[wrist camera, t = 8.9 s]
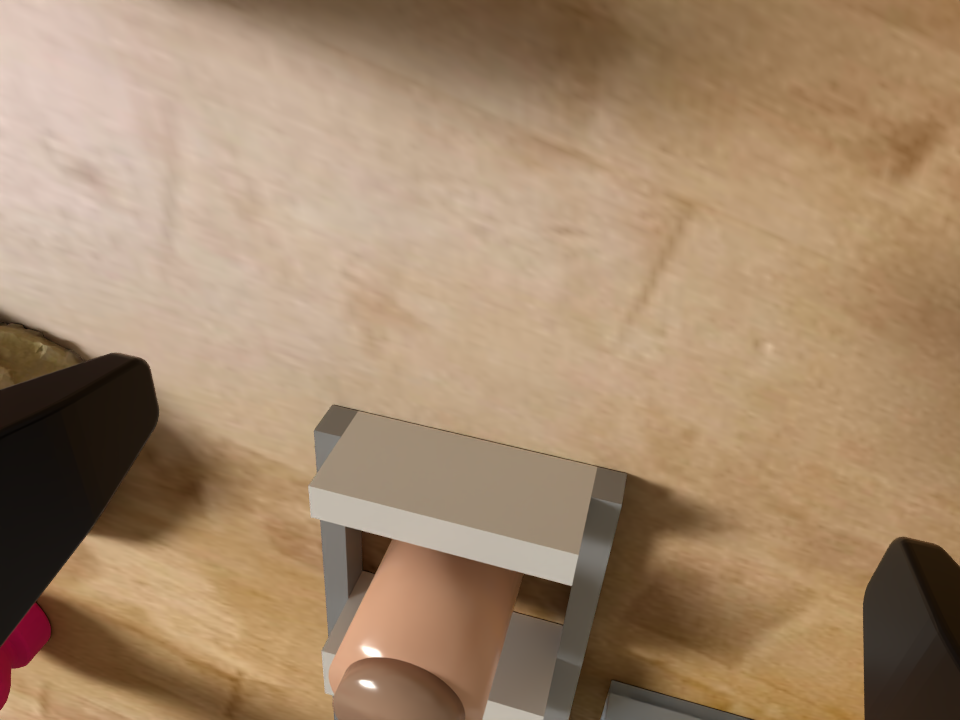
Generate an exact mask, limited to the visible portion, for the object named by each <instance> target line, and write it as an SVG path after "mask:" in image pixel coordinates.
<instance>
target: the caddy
mask: <svg viewBox="0 0 960 720" xmlns="http://www.w3.org/2000/svg"><path fill="white" fill-rule="evenodd" d="M314 437H315V452H316V466H317V474H316V475H315V477H314V478H313V480H312V481H311V483H310V484H309V486H308V487H309V500H310V512H311V517H312V518H316V519H320V523H321V537H322V551H323V565H324V580H325V594H326V608H327V622H328V636H329V637H328V639H327V641H326V643H325V645H324V647H323V649H322V662H323V674H324V687H325V693H327V694H330V695H333V697H334V693H333V691H332V688H331V686H330V683H329V668H330V665H331V663H332V661H333V659H334V657H335V655H336V653H337V651H338V649H339V647H340V645H341V643H342V641H343V638H344V636H345V634H346V632H347V630H348V628H349V626H350V624H351V622H352V620H353V618H354V616H355V614H356V612H357V610H358V608H359V606H360V604H361V602H362V600H363V598H364V596H365V594H366V592H367V590H368V588H369V586H370V583H371V581H372V579H373V577H374V575H375V574H373V573H369V572H366V571H363V565H362V531H365V532H369V533H373V534H376V535H380V536H384V537H388V538H392V539H395V540H399V541H403V542H407V543H411V544H414V545H418V546H422V547H426V548H430V549H433V550H437V551H441V552H445V553H449V554H452V555H456V556H460V557H464V558H467V559H471V560H475V561H479V562H483V563H486V564H490V565H494V566H498V567H502V568H505V569H509V570H513V571H517V572H521V573H524V574H528V575H532V576H536V577H540V578H543V579H547V580H551V581H555V582H558V583H562V584H566V585H570V586H572V587H571V592H570V597H569V601H568V606H567V611H566V615H565V620H564V625H559V624H556V623H552V622H548V621H545V620H541V619H537V618H534V617H530V616H526V615H523V614H519V613H515V612H513V613H512V617H511V620H510V624H509V627H508V631H507V634H506V638H505V641H504V645H503V648H502V652H501V655H500V659H499V662H498V666H497V669H496V673H495V676H494V680H493V683H492V687H491V690H490V694H489V698H488V701H487V705H486V708H485V712H484V715H483V719H482V720H568V719H569V715H570V711H571V707H572V703H573V699H574V695H575V691H576V687H577V683H578V679H579V675H580V671H581V667H582V663H583V659H584V655H585V651H586V647H587V643H588V639H589V635H590V631H591V627H592V623H593V619H594V615H595V611H596V607H597V603H598V599H599V595H600V591H601V587H602V583H603V579H604V575H605V571H606V567H607V563H608V559H609V555H610V551H611V547H612V543H613V539H614V535H615V531H616V527H617V523H618V519H619V515H620V511H621V507H622V502H623V496H624V489H625V483H626V477H627V474H626V473H622V472H618V471H613V470H609V469H605V468H601V467H596V466H592V465H588V464H583V463H579V462H575V461H571V460H566V459H562V458H558V457H553V456H549V455H545V454H541V453H536V452H532V451H528V450H524V449H519V448H515V447H511V446H506V445H502V444H498V443H494V442H489V441H485V440H481V439H476V438H472V437H468V436H464V435H459V434H455V433H451V432H447V431H442V430H438V429H434V428H429V427H425V426H421V425H417V424H412V423H408V422H404V421H399V420H395V419H391V418H387V417H382V416H378V415H374V414H370V413H365V412H361V411H357V410H352V409H348V408H344V407H340V406H335V405H332V406H331V407H330V409H329V410H328V412H327V413H326V414H325V416H324V417H323V419H322V420H321V421H320V423H319V424H318V425H317V427H316V428H315V430H314ZM334 720H338V718H337V717H336V715H335V712H334Z"/></svg>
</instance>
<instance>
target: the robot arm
mask: <svg viewBox="0 0 960 720" xmlns="http://www.w3.org/2000/svg"><path fill="white" fill-rule="evenodd" d="M158 417H159V406H158V402H157V397H156V392H155V388H154V383H153V379H152V374H151V369H150V366H149V365H148V363H147V362H146V361H145V360H143V359H142V358H139V357H135V356H131V355H126V354H122V353H110V354H107V355H104V356H100V357H97V358H94V359H91V360H88V361H85V362H82V363H79V364H76V365H73V366H70V367H67V368H64V369H61V370H58V371H55V372H52V373H49V374H46V375H42V376H39V377H36V378H33V379H30V380H27V381H24V382H21V383H18V384H15V385H12V386H9V387H6V388H3V389H0V647H1V646H2V645H3V644H4V642H5V641H6V640H7V638H8V637H9V636H10V634H11V633H12V632H13V631H14V629H15V628H16V627H17V625H18V624H19V623H20V621H21V620H22V619H23V618H24V616H25V615H26V614H27V612H28V611H29V610H30V608H31V607H32V606H33V604H34V603H35V602H36V601H37V599H38V598H39V597H40V595H41V594H42V593H43V591H44V590H45V589H46V588H47V586H48V585H49V584H50V582H51V581H52V580H53V578H54V577H55V576H56V575H57V573H58V572H59V571H60V569H61V568H62V567H63V565H64V564H65V563H66V562H67V560H68V559H69V558H70V556H71V555H72V554H73V552H74V551H75V550H76V549H77V547H78V546H79V545H80V543H81V542H82V541H83V539H84V538H85V537H86V535H87V534H88V533H89V531H90V530H91V529H92V527H93V526H94V524H95V523H96V521H97V520H98V518H99V517H100V515H101V514H102V512H103V511H104V509H105V508H106V506H107V505H108V503H109V501H110V500H111V498H112V497H113V495H114V493H115V492H116V490H117V488H118V487H119V485H120V484H121V482H122V480H123V479H124V477H125V476H126V474H127V472H128V471H129V469H130V467H131V466H132V464H133V463H134V461H135V459H136V458H137V456H138V454H139V453H140V451H141V450H142V448H143V446H144V445H145V443H146V442H147V440H148V438H149V437H150V435H151V433H152V432H153V430H154V428H155V426H156V424H157V421H158ZM863 639H864V712H865V720H960V566H959V565H958V564H957V563H956V562H955V561H954V560H953V559H952V558H951V557H950V555H949V554H948V553H947V552H946V551H945V550H944V549H943V548H941V547H940V546H938V545H936V544H933V543H929V542H924V541H920V540H916V539H912V538H907V537H899V538H896V539H895V540H894V541H893V542H892V543H891V544H890V545H889V547H888V549H887V551H886V553H885V554H884V556H883V558H882V560H881V562H880V563H879V565H878V567H877V569H876V571H875V572H874V574H873V576H872V578H871V580H870V581H869V583H868V585H867V588H866V591H865V595H864V601H863Z"/></svg>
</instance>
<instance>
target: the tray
mask: <svg viewBox="0 0 960 720" xmlns="http://www.w3.org/2000/svg"><path fill="white" fill-rule="evenodd" d="M600 720H751V719H747V718H744V717H740V716H737V715H733V714H730V713H726V712H723V711H719V710H715V709H712V708H708V707H705V706H701V705H698V704H694V703H691V702H687V701H684V700H680V699H677V698H673V697H670V696H666V695H663V694H659V693H656V692H652V691H648V690H645V689H641V688H638V687H634V686H631V685H627V684H624V683H620V682H617V681H613V680H612V681H611V685H610V688H609V691H608V695H607V698H606V702H605V705H604V709H603V712H602V715H601V719H600Z"/></svg>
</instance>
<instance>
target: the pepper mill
mask: <svg viewBox="0 0 960 720" xmlns="http://www.w3.org/2000/svg"><path fill="white" fill-rule="evenodd" d="M50 635H51V627H50V623H49V621H48V618H47V617H46V615H45V613H44V612H43V611H42V609H41V608H40V607H39V606H38V605H37V603H36V602H35V603H34V604H33V606H32V607H31V608H30V610H29V611H28V612H27V614H26V615H25V616H24V618H23V619H22V620H21V621H20V623H19V624H18V625H17V627H16V628H15V629H14V631H13V632H12V633H11V634H10V636H9V637H8V638H7V640H6V641H5V642H4V644H3V645H2V646H1V647H0V710H1V709H2V708H3V706H4V704H5V703H6V701H7V698H8V695H9V692H10V686H11V668H12V669H15V668H20V667H24V666H26V665H27V664H28V663H29V662H30V661H31V660H32V659H33V657H34V656H35V655H36V654H37V653H38V652H39V651H40V649H41V648H42V647H43V646H44V645H45V644H46V643H47V641H48V640H49V638H50Z"/></svg>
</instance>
